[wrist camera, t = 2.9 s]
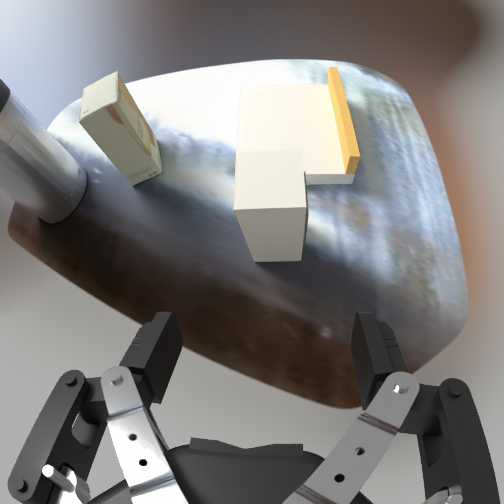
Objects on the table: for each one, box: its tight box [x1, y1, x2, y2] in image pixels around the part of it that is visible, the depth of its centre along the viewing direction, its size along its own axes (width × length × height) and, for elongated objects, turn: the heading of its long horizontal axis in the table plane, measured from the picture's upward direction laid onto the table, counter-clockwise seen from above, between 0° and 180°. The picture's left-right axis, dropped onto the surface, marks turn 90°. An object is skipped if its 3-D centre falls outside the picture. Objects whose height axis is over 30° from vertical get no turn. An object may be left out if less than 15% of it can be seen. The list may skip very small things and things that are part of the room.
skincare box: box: [79, 71, 162, 186], centre depth 29 cm, size 6×4×12 cm
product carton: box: [234, 149, 308, 262], centre depth 24 cm, size 5×4×11 cm
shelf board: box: [236, 67, 360, 185], centre depth 31 cm, size 12×14×5 cm
